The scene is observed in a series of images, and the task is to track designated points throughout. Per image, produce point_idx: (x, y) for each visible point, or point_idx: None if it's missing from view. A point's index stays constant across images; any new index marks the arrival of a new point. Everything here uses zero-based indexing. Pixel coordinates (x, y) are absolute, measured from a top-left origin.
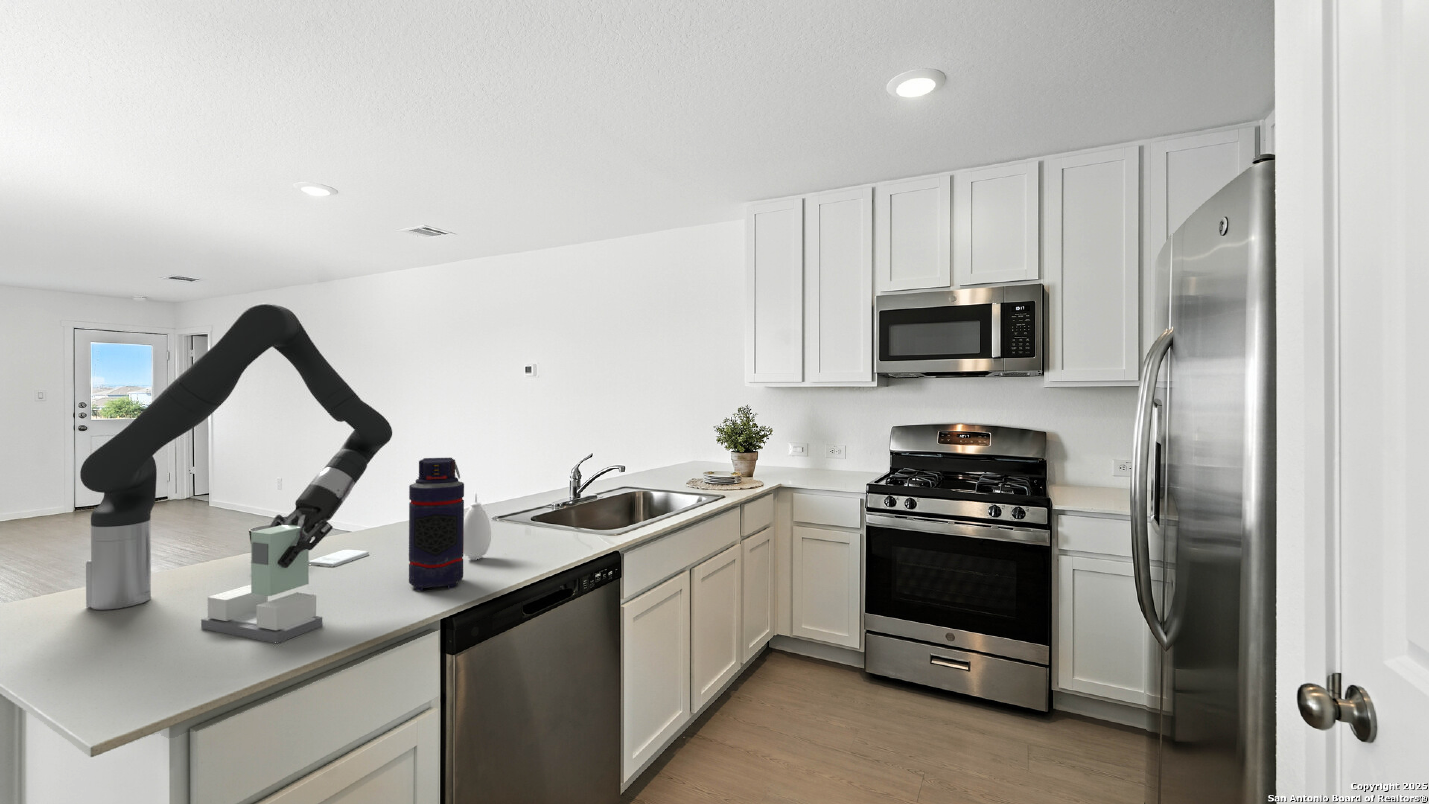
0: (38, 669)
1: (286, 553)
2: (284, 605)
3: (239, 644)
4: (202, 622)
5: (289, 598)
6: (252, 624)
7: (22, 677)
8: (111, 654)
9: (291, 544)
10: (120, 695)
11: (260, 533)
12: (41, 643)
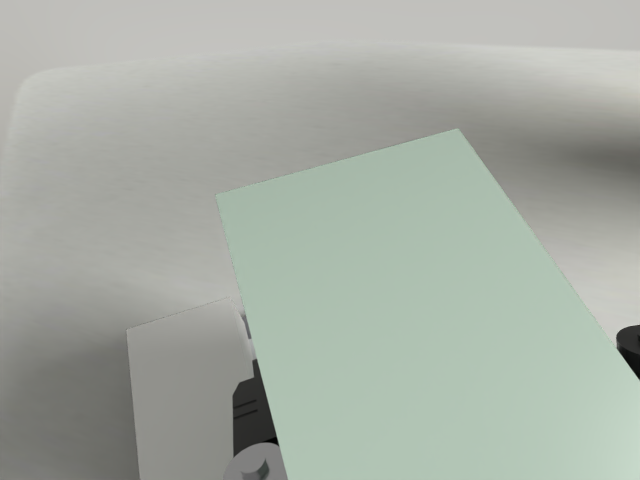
0: (401, 60)
1: (258, 398)
2: (136, 364)
3: (239, 290)
4: None
5: (209, 413)
6: None
7: (378, 47)
8: (396, 124)
9: (274, 445)
10: (164, 108)
11: (346, 164)
12: (557, 70)
